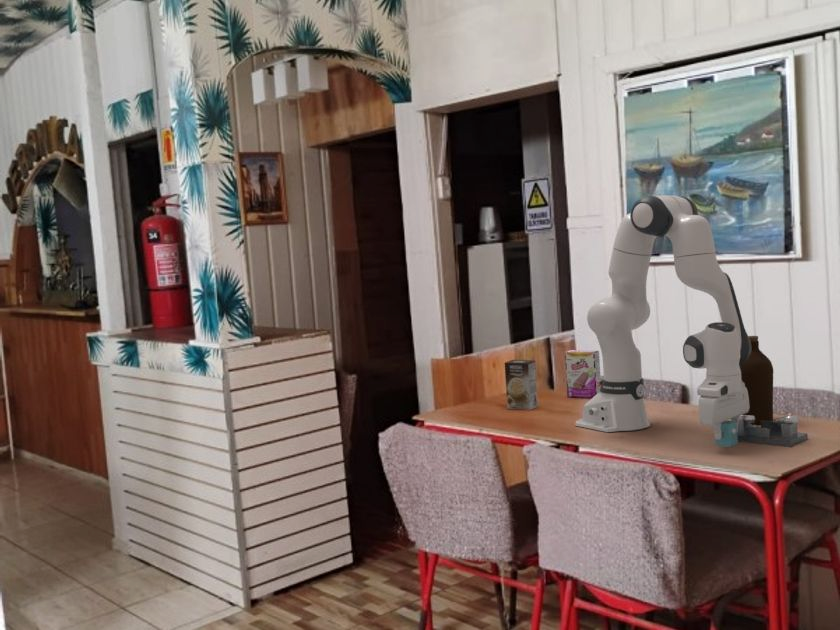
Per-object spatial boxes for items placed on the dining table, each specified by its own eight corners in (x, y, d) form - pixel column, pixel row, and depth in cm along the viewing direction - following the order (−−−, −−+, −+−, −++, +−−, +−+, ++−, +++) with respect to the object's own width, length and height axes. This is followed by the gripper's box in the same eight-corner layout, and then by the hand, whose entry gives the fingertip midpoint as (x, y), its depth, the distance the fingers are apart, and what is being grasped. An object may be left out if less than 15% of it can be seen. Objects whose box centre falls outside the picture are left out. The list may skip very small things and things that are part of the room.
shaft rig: (725, 439, 256) (724, 412, 255) (744, 431, 262) (742, 405, 262) (790, 446, 243) (789, 418, 242) (807, 438, 249) (806, 411, 249)
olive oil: (759, 427, 266) (756, 339, 264) (729, 422, 275) (725, 337, 273) (783, 420, 272) (779, 335, 270) (752, 416, 281) (748, 333, 279)
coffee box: (506, 409, 320) (503, 362, 318) (514, 405, 325) (511, 359, 324) (530, 410, 315) (527, 362, 314) (538, 406, 320) (535, 359, 319)
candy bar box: (566, 398, 331) (564, 351, 330) (572, 395, 336) (569, 349, 334) (597, 398, 326) (594, 352, 324) (602, 396, 330) (599, 349, 328)
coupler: (714, 445, 251) (713, 422, 250) (722, 441, 253) (721, 419, 253) (731, 447, 247) (730, 424, 246) (739, 444, 250) (738, 421, 249)
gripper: (732, 377, 258) (734, 426, 259) (693, 390, 244) (695, 442, 245) (754, 378, 253) (756, 429, 255) (715, 391, 240) (717, 445, 241)
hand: (726, 435), depth 250 cm, fingers open, 6 cm apart
